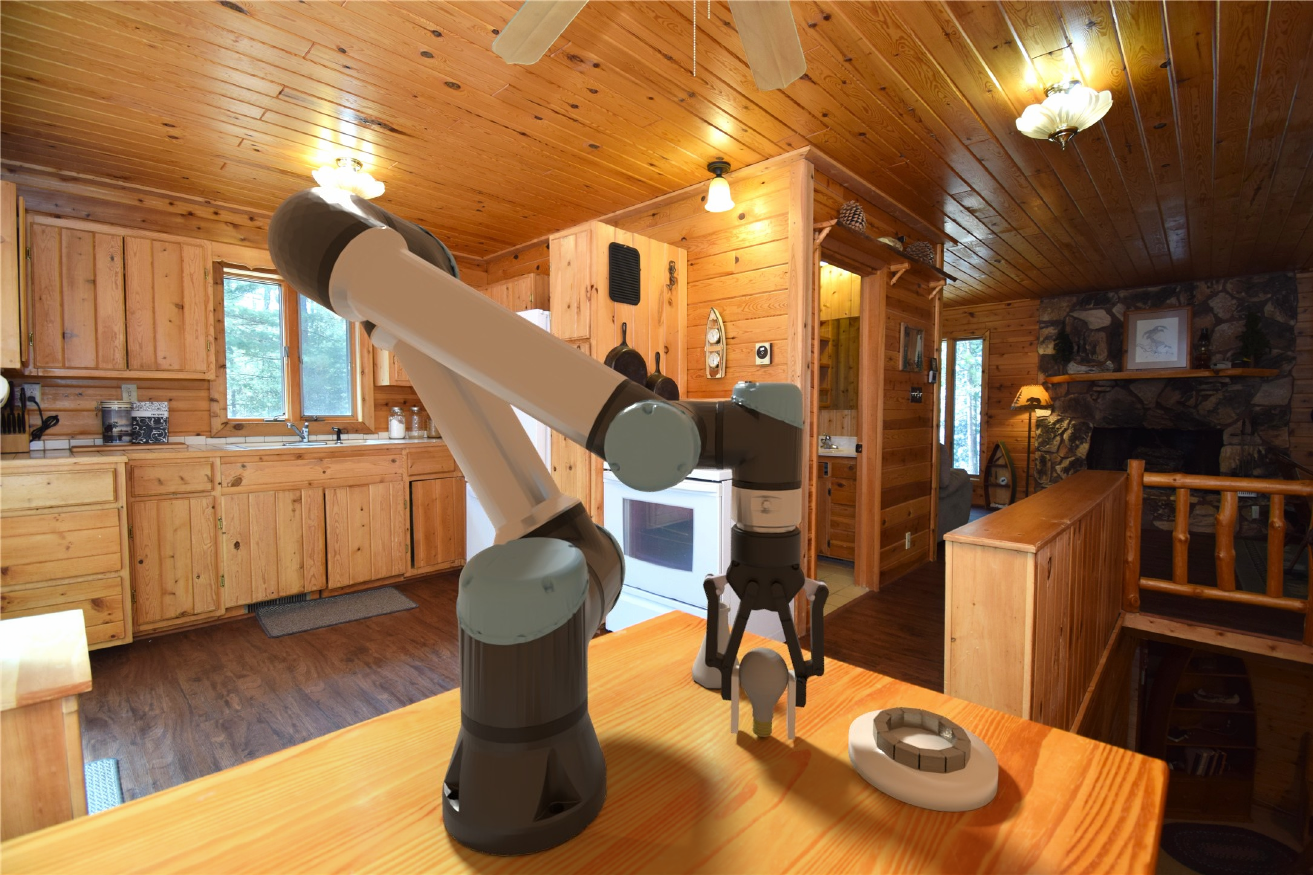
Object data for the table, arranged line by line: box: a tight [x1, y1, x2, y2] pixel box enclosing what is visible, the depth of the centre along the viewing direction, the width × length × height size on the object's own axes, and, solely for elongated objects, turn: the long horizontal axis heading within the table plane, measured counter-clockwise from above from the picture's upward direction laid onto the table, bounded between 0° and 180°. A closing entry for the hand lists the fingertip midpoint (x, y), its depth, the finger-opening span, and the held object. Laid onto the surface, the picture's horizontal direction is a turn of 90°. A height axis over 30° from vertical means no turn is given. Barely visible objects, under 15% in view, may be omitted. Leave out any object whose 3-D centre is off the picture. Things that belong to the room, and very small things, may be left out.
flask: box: [691, 601, 741, 689], centre depth 79 cm, size 7×7×10 cm
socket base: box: [847, 709, 999, 813], centre depth 60 cm, size 14×14×2 cm
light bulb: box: [739, 647, 789, 739], centre depth 65 cm, size 6×6×10 cm
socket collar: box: [873, 706, 971, 774], centre depth 60 cm, size 9×9×2 cm
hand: (762, 729), depth 65 cm, fingers closed on light bulb, 5 cm apart
